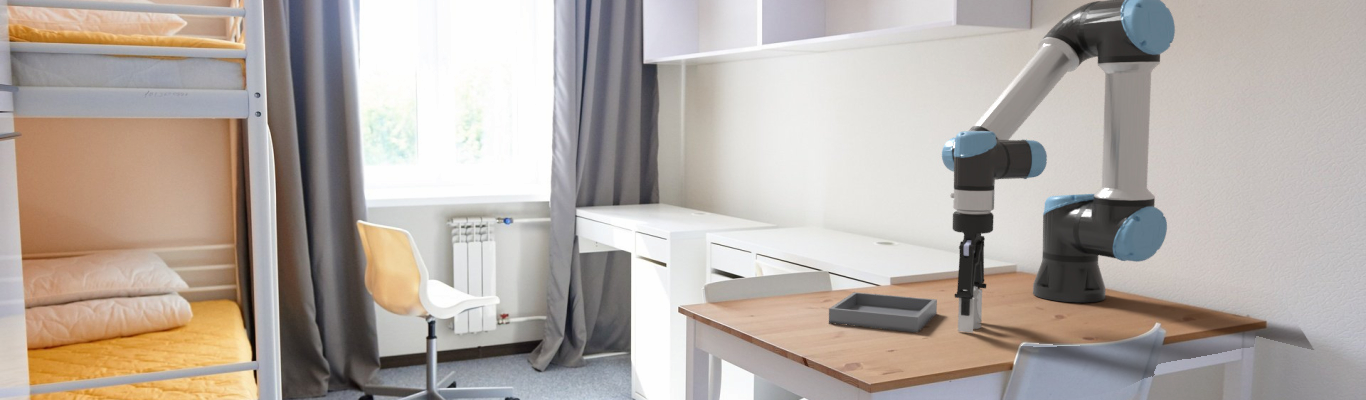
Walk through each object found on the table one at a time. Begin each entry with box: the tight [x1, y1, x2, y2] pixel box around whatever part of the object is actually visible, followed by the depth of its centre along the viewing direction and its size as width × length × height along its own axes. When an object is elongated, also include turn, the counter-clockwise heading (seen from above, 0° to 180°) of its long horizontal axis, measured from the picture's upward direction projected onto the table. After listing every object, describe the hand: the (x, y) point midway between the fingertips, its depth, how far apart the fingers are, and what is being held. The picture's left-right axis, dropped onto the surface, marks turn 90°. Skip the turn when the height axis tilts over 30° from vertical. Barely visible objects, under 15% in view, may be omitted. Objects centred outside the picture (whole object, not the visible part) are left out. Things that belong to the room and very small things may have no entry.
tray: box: [828, 291, 938, 333], centre depth 191 cm, size 18×18×3 cm
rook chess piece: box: [963, 286, 983, 330], centre depth 184 cm, size 4×4×8 cm
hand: (969, 325), depth 184 cm, fingers open, 9 cm apart
